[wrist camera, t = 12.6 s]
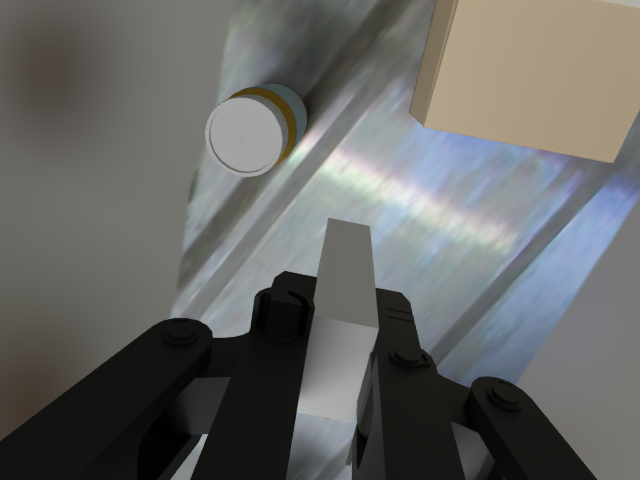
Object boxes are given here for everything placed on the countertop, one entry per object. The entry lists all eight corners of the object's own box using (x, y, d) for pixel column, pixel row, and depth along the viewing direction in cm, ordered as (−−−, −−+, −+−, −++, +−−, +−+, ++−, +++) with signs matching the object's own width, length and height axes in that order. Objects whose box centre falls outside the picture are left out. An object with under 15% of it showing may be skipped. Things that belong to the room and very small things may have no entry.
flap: (609, 160, 37) (614, 163, 36) (421, 125, 37) (422, 127, 36) (703, -31, 30) (712, -32, 30) (475, -74, 30) (478, -76, 30)
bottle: (277, 68, 46) (244, 70, 32) (321, 121, 47) (306, 144, 34) (231, 113, 48) (181, 132, 34) (274, 161, 49) (243, 199, 36)
